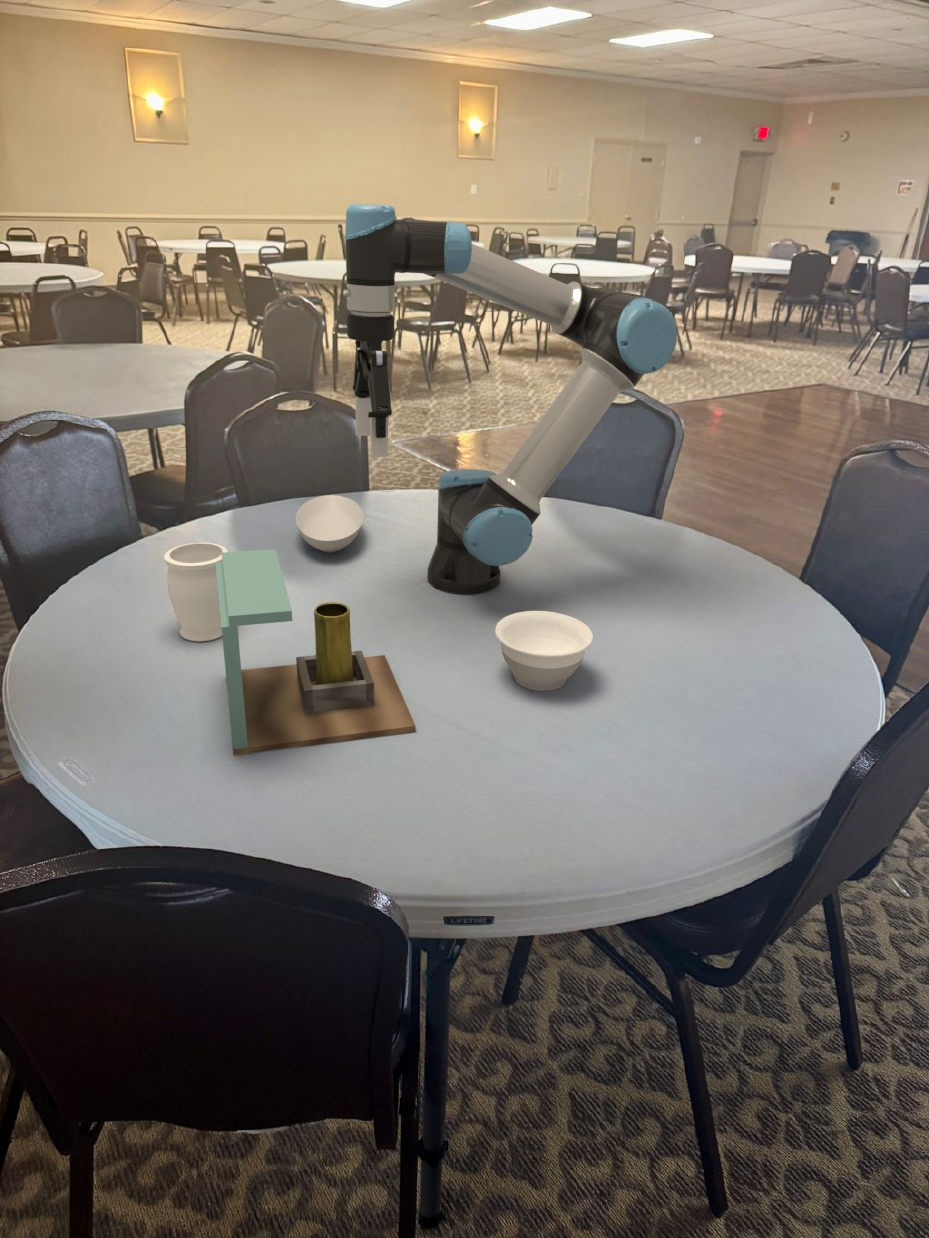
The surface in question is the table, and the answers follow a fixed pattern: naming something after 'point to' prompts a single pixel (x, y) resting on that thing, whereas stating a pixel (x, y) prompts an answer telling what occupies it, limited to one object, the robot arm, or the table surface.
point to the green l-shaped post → (247, 616)
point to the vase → (333, 643)
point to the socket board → (321, 705)
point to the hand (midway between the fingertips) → (371, 445)
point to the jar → (195, 589)
